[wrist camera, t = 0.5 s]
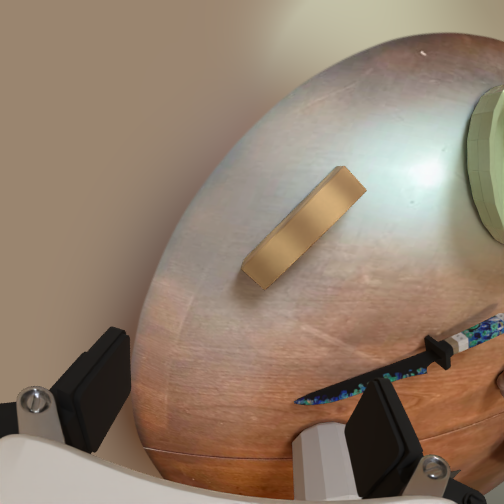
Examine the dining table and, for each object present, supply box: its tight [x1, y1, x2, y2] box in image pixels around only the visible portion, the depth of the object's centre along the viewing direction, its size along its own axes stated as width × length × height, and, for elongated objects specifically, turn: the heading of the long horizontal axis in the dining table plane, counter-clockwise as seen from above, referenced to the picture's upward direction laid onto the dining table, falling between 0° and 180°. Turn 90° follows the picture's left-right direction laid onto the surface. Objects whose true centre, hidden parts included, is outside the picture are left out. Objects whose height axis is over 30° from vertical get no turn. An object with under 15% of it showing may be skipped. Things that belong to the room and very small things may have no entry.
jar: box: [292, 422, 362, 501], centre depth 28 cm, size 10×10×18 cm
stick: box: [241, 166, 367, 290], centre depth 28 cm, size 13×3×3 cm, turn 136°
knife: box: [294, 313, 504, 405], centre depth 31 cm, size 31×3×4 cm, turn 110°
